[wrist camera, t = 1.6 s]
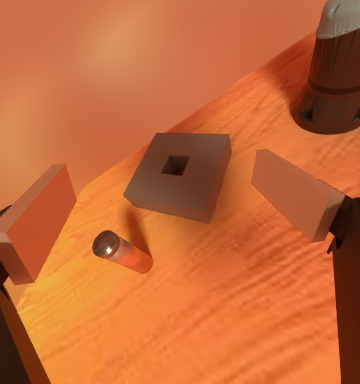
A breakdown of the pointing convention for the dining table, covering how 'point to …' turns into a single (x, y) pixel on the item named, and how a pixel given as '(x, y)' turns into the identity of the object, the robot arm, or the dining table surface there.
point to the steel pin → (121, 252)
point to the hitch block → (190, 180)
